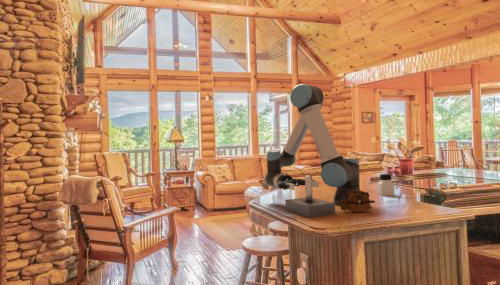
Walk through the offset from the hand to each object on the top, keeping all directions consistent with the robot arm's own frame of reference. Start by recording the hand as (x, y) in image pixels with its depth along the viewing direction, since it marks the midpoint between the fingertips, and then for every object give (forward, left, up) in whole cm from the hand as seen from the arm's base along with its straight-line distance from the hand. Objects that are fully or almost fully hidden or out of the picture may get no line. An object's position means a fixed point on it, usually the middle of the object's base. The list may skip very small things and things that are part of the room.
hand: (306, 185), depth 176 cm
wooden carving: (-22, -3, -12) cm, 26 cm away
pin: (-1, +1, -11) cm, 11 cm away
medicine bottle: (-34, -56, -12) cm, 67 cm away
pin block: (-1, +1, -12) cm, 12 cm away
